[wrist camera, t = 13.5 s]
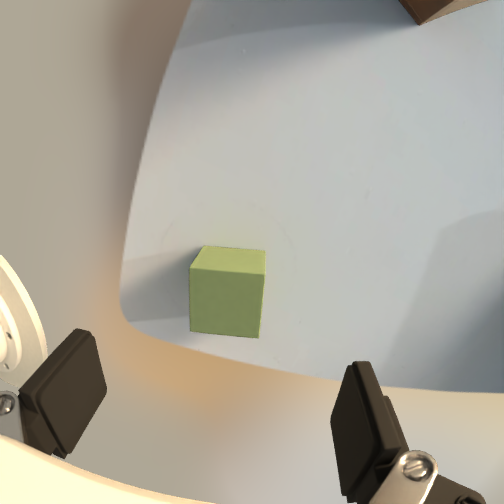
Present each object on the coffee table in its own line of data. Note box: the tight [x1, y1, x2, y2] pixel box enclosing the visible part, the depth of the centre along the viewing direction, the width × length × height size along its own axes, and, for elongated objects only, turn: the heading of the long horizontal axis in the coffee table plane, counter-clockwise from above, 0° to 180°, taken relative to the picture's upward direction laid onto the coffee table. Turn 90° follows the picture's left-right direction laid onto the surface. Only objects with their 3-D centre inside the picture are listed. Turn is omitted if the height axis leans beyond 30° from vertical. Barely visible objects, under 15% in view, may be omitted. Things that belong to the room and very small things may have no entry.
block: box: [189, 246, 266, 338], centre depth 19 cm, size 4×4×4 cm
